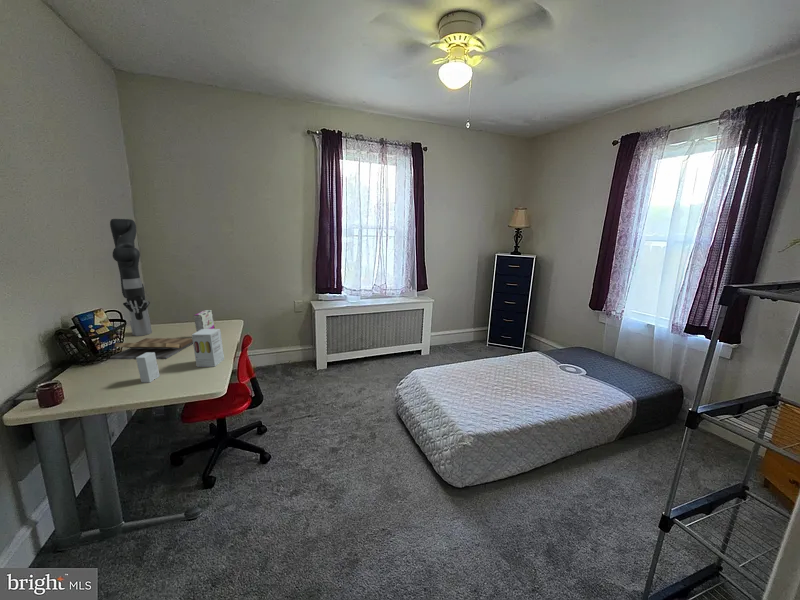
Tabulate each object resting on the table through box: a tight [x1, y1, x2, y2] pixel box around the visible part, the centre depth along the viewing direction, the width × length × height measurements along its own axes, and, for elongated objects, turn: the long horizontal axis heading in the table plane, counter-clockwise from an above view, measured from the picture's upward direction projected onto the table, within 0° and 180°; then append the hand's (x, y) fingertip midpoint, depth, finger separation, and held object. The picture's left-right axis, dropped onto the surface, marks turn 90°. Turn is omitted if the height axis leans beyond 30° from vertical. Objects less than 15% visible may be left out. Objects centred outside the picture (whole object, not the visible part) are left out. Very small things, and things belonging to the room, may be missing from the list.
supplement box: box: [191, 328, 225, 368], centre depth 164 cm, size 10×9×17 cm
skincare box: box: [135, 352, 161, 383], centre depth 148 cm, size 6×4×12 cm
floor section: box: [109, 337, 193, 360], centre depth 184 cm, size 30×24×3 cm
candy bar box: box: [193, 309, 216, 332], centre depth 201 cm, size 11×5×16 cm, turn 179°
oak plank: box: [114, 342, 180, 349], centre depth 179 cm, size 28×10×2 cm, turn 88°
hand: (139, 319), depth 173 cm, fingers closed
